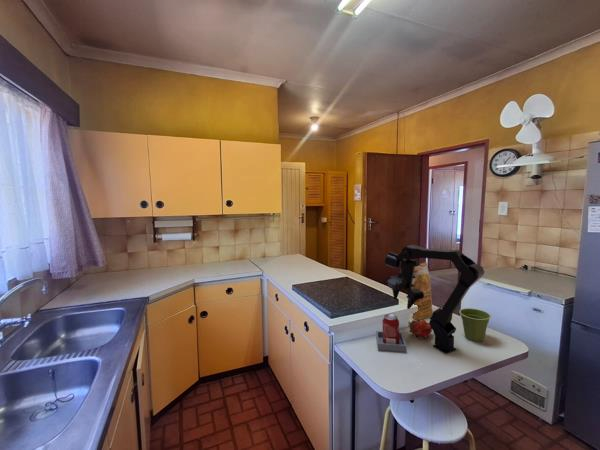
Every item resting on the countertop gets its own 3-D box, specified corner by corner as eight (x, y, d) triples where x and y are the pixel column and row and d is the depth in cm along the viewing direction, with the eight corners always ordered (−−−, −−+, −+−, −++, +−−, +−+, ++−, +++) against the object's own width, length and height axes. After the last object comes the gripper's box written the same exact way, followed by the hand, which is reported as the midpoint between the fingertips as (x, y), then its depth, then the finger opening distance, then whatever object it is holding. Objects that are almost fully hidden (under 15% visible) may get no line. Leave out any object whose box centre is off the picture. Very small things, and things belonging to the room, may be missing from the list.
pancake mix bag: (404, 318, 145) (404, 265, 142) (426, 309, 155) (426, 260, 153) (416, 322, 139) (416, 268, 137) (437, 313, 149) (437, 262, 147)
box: (402, 339, 123) (402, 332, 123) (406, 352, 112) (406, 345, 112) (376, 337, 125) (376, 331, 125) (377, 350, 114) (377, 343, 114)
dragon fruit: (407, 341, 124) (429, 340, 127) (419, 337, 117) (442, 336, 121) (402, 322, 128) (422, 321, 132) (413, 317, 122) (435, 317, 125)
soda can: (397, 349, 114) (397, 321, 113) (380, 345, 117) (380, 318, 116) (400, 341, 120) (400, 315, 119) (385, 338, 123) (384, 312, 122)
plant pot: (453, 336, 124) (453, 312, 123) (467, 329, 130) (468, 306, 129) (481, 347, 114) (482, 321, 113) (495, 339, 120) (496, 314, 119)
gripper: (379, 265, 130) (375, 295, 133) (406, 282, 113) (400, 316, 116) (398, 264, 134) (394, 294, 137) (427, 280, 117) (421, 313, 120)
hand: (401, 303), depth 128 cm, fingers open, 9 cm apart
